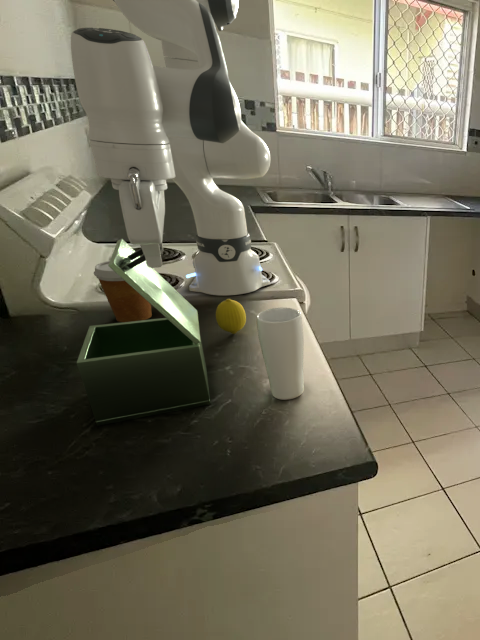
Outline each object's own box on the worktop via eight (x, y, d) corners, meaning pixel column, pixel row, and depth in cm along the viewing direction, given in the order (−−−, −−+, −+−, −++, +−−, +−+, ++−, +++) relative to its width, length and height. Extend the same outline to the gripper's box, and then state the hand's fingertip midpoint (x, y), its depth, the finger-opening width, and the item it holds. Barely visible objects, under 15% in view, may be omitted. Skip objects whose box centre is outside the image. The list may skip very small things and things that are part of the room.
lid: (107, 265, 64) (142, 245, 65) (117, 241, 74) (146, 224, 75) (196, 345, 74) (224, 326, 75) (193, 313, 84) (218, 297, 85)
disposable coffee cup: (104, 328, 99) (89, 273, 94) (109, 312, 106) (94, 260, 101) (160, 322, 104) (148, 269, 99) (161, 307, 111) (149, 257, 106)
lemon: (236, 341, 99) (230, 305, 96) (212, 336, 100) (206, 301, 97) (254, 331, 104) (249, 296, 101) (231, 326, 105) (226, 292, 102)
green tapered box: (97, 426, 71) (76, 362, 66) (106, 383, 81) (89, 325, 76) (210, 404, 78) (198, 346, 74) (206, 367, 88) (195, 314, 84)
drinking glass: (299, 379, 88) (291, 304, 82) (315, 395, 84) (308, 317, 77) (260, 390, 83) (249, 312, 77) (275, 408, 79) (264, 326, 73)
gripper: (161, 174, 60) (181, 278, 66) (164, 156, 76) (180, 242, 81) (97, 172, 57) (124, 282, 63) (114, 154, 72) (134, 243, 78)
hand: (156, 259), depth 72 cm, fingers closed on lid, 6 cm apart
